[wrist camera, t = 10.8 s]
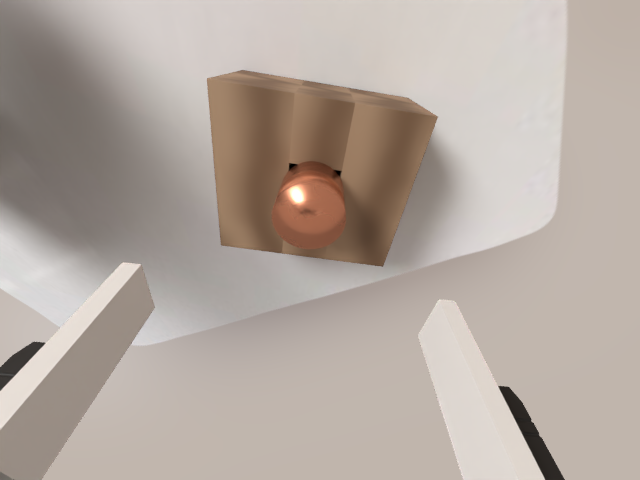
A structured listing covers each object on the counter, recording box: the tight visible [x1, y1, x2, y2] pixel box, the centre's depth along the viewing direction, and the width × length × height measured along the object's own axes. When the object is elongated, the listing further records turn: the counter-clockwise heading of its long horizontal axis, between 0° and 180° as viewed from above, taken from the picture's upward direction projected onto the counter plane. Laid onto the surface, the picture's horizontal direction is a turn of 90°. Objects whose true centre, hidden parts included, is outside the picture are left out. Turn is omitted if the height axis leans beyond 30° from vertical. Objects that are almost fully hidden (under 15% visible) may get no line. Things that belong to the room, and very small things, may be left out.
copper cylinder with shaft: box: [272, 161, 346, 249], centre depth 23 cm, size 5×5×10 cm
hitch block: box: [207, 70, 438, 267], centre depth 26 cm, size 16×14×9 cm
